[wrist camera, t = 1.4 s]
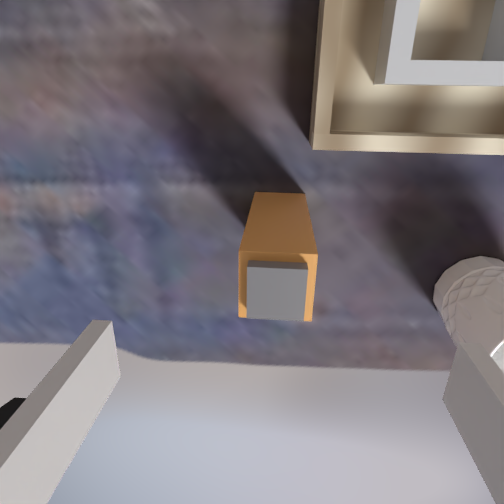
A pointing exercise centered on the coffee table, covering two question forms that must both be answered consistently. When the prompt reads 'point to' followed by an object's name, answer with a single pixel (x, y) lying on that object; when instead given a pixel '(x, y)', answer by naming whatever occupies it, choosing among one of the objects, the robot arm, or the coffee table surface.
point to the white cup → (474, 304)
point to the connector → (277, 259)
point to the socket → (434, 71)
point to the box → (402, 96)
